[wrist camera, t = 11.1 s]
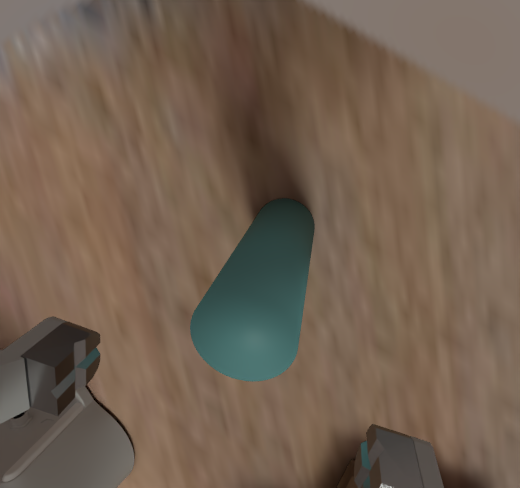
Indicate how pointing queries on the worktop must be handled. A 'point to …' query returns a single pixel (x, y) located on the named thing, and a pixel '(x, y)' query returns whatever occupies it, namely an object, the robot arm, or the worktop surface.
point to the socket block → (348, 477)
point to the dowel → (258, 297)
